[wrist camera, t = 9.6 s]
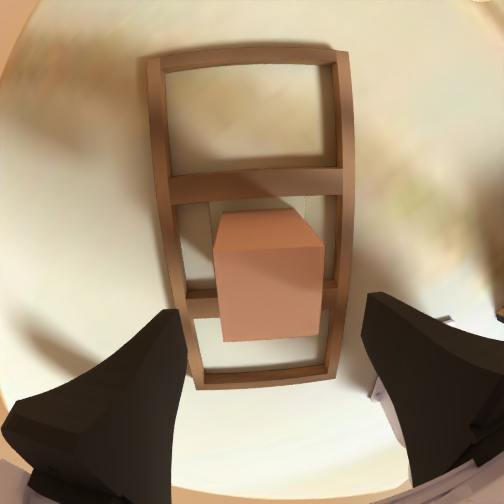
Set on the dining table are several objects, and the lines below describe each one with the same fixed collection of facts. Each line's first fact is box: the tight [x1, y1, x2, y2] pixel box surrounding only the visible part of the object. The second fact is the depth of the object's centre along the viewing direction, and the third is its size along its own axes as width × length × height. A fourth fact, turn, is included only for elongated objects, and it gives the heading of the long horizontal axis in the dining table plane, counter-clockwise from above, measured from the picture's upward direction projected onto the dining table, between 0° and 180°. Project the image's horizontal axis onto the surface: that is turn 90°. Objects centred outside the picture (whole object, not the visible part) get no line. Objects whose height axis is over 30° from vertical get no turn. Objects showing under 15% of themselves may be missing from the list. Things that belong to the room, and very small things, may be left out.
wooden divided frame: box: [147, 47, 355, 390], centre depth 18 cm, size 25×12×1 cm, turn 3°
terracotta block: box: [213, 208, 325, 342], centre depth 15 cm, size 4×4×7 cm
